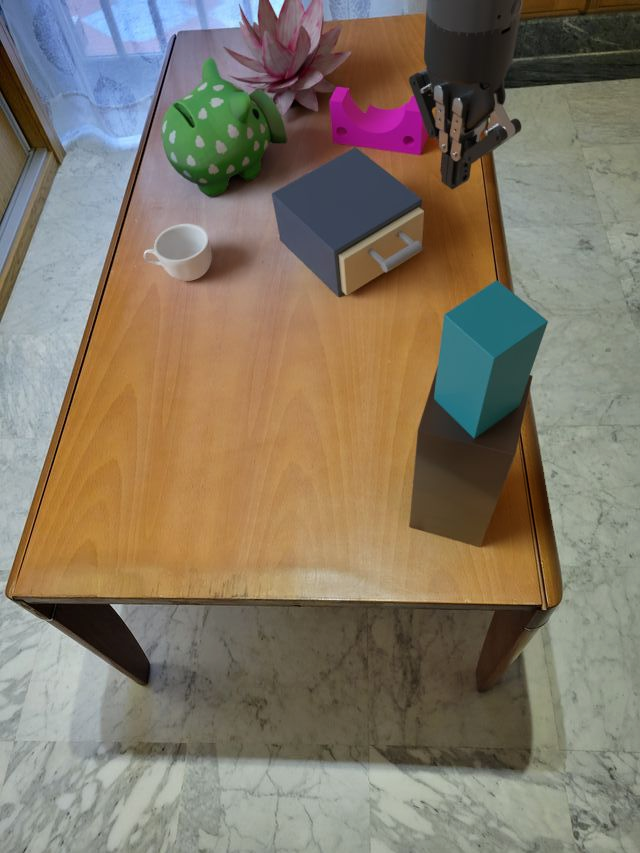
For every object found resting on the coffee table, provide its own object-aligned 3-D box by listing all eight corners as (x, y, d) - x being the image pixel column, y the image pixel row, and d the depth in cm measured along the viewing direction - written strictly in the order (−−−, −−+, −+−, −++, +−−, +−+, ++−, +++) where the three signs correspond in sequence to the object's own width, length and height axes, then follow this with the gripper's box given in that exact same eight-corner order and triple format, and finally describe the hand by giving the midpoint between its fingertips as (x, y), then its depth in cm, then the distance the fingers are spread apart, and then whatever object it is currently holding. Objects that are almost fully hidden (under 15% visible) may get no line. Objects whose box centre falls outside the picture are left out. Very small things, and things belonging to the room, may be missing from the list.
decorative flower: (365, 116, 109) (362, 25, 96) (244, 144, 108) (225, 56, 95) (335, 50, 120) (329, -40, 107) (225, 75, 119) (205, -13, 106)
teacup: (218, 248, 96) (209, 220, 92) (215, 286, 92) (206, 259, 88) (153, 254, 97) (142, 227, 92) (148, 292, 93) (136, 265, 88)
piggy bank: (297, 172, 103) (285, 84, 91) (198, 219, 100) (171, 133, 87) (257, 129, 110) (240, 41, 97) (163, 171, 107) (132, 85, 94)
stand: (494, 484, 73) (533, 375, 54) (480, 547, 69) (515, 454, 50) (426, 466, 75) (440, 355, 56) (408, 527, 71) (417, 430, 52)
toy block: (429, 131, 106) (432, 88, 99) (420, 155, 103) (422, 112, 96) (344, 119, 109) (341, 77, 103) (332, 142, 106) (329, 100, 100)
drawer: (441, 265, 89) (445, 227, 83) (365, 314, 86) (363, 278, 80) (363, 200, 97) (362, 162, 91) (291, 242, 94) (285, 205, 88)
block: (519, 406, 53) (548, 321, 43) (474, 439, 52) (494, 359, 42) (477, 368, 55) (496, 279, 45) (433, 398, 54) (443, 314, 44)
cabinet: (419, 247, 93) (422, 198, 85) (338, 297, 89) (334, 251, 82) (357, 195, 99) (355, 146, 92) (280, 240, 96) (271, 193, 88)
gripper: (385, -10, 53) (385, 167, 68) (497, 55, 47) (470, 234, 62) (453, -44, 54) (438, 137, 69) (570, 15, 48) (527, 199, 63)
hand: (454, 182), depth 65 cm, fingers closed
